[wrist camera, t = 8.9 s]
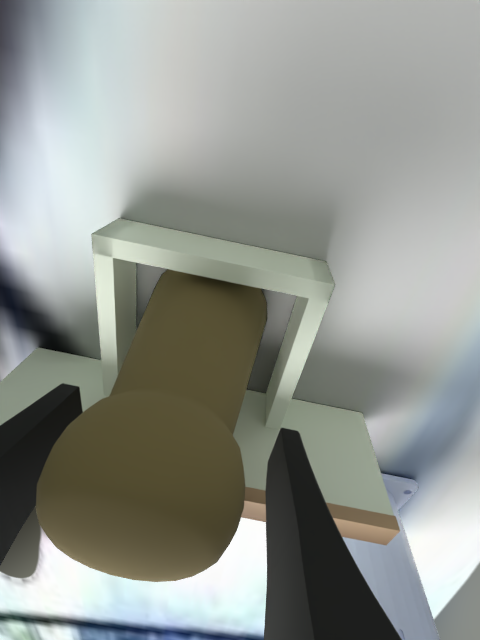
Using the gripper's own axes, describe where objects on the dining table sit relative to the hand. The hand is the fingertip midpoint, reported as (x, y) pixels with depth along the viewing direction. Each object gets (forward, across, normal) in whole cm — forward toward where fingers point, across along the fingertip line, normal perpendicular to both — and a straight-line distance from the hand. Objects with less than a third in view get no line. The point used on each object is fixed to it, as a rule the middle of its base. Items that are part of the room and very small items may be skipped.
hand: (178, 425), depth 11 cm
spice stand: (+6, 0, 0) cm, 7 cm away
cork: (+7, 0, -1) cm, 7 cm away
